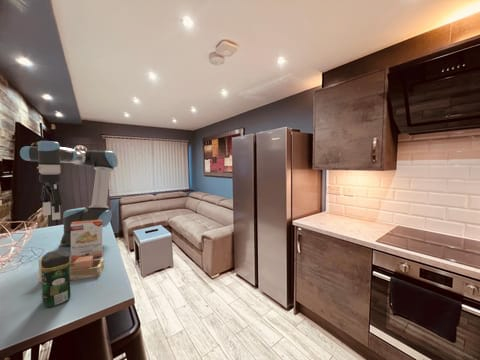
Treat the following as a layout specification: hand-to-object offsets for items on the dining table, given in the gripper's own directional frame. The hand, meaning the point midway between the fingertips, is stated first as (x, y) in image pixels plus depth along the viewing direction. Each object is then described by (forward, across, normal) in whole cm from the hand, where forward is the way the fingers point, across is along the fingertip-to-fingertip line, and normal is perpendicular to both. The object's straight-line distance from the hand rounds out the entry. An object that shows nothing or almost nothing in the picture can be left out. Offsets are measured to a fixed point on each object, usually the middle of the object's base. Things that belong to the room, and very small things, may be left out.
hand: (51, 217), depth 96 cm
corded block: (+26, +13, +2) cm, 29 cm away
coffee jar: (+26, +31, -7) cm, 41 cm away
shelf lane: (+26, +16, +6) cm, 31 cm away
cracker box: (+27, -2, +15) cm, 31 cm away
